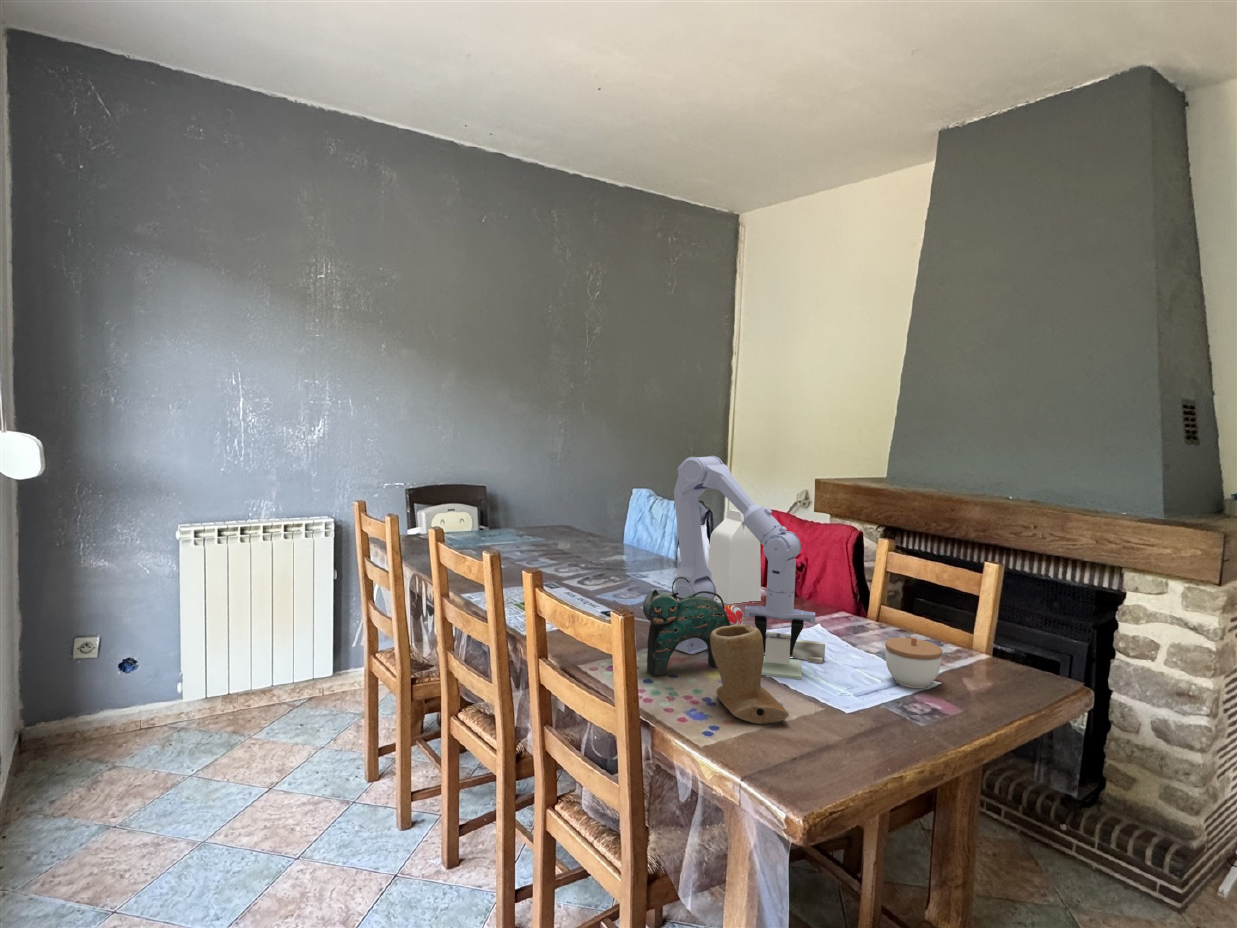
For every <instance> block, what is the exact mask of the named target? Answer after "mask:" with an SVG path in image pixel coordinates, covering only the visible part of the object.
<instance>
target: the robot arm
mask: <svg viewBox="0 0 1237 928" xmlns="http://www.w3.org/2000/svg"><path fill="white" fill-rule="evenodd" d="M677 475H678V476H677V480H676V482H675V486H674V489H673V498H674V505H675V507H674V508H675V516H676V518H675V519H676V526H677V527H676V528H677V538H678V547H679V548H678V549H679V558H680V569H679V571H678V572H677V574H676V576H675V578H674V580H675V579H676V578H678V577H685V578H687V579H688V580H689V583H688V582H687V581H686V580H685V579H678V580H676V582H675V585H674V588H673V591H674V593H679V594H678V595H676V596H678V597H684V596H690V595H692V594H695V593H697V592H700V591H710V592H714V593H716V592H717V590H716V586H715V583H714V582H713V580H712V576H711V571H710V570H709V569H708V566H707V565H706V563H705V562H706V561H705V553H704V542H703V532H702V523H701V513H700V502H699V497H700V496H701V495H703V493H704V492H705V491H706V490H707V489H713V490H718V491H720V493H722V495H723V496H724V497H725V498H726V499H727V500H728V501H729V502H730V503H732V505H733V506H734V507H735V508H736V509H737V511H740V512H741V513H742V514H743V515H744V524H745V525H746V527H747V528H748V529H749V530H750V531H751V532H752V533H753V535H754V536H755V537H756V538H757V539H758V540H759V542H760V545H762V546H763V548H762V549H763V553H764V555H765V558H766V560H767V562H768V563H767V576H766V577H767V579H766V580H767V581H766V582H767V583H766V584H767V585H766V601H765V603H766V604H765V606H755V605H754V606H749V605H745V607H744V618H750V617H751V618H754V625H755V628H758V629H759V631H760V632H761V634H762V638H763V647H764V653H765V648H766V634H767V629H768V625H767V624H768V619H772V620H781V621H791V622H790V623H791V624H790V626H791V627H790V656H792V654H793V649H794V646H795V643H796V640H798V638H799V636H800V634H801V633H802V631H803V628H804V626H805V625H804V623H809V624H816V612H813V611H807V610H803V609H802V610H801V609H795V592H796V590H795V587H796V570H797V569H796V568H797V567H796V564H797V558H796V557H798V555H799V554H800V553H801V549H802V543H801V541H800V538H799V537H798V536H797V534H796V533H794V532H793V531H787V530H788V529H787V527H786V526H783V525H781V523H780V522H779V521H778V520H777V519H776V518H775V517H774V515H772V513H773V511H772V510H771V509H770V508H769V507H767V508H766V506H764V505H757V504H755V502H754V501H753V500H752V498H751V497H750V496H749V495H748V493H747V492H746V491H745V490H744V488H743V487H742V486H741V485H740V484H739V482H738V481H737V480H736V478H735V477H734V476H733V474H732V473H731V470H730V468H729V466H727V465H726V464H725V463H724V462H723V461H722V459H721V458H720V457H718V456H715V455H708V456H699V457H696V456H690V457H687V458H686V459H684V460H683V462H682V463H681V464H679V466H678V467H677ZM697 595H698V596H704V597H708V598H710V599H712V600H714V601H715V599H714V598H715V597H716V595H713V594H708V593H700V594H697ZM677 599H678V598H677ZM674 650H676V651H680V652H681V653H682V652H683V653H685V654H688V655H695V654H698V653H700V652H703V651H707V650H708V648H707V644H706V643H705V642H704V641H703V640H701V639H699V638H691V639H688V640H685V641H682V642H680V643H679V644H678V645H677V646H676V648H675V649H674Z"/></svg>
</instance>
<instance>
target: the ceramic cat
mask: <svg viewBox="0 0 1237 928" xmlns="http://www.w3.org/2000/svg"><path fill="white" fill-rule="evenodd" d="M678 579H685V580H686V581H687V582H688V583H689V580H688V579H687V578H685V577H678V578H676V579H675V578H674V579H673V581H672V585H671V592H672V593H668V592H665V591H661V590H657V589H654V590H653V591H652V592H650V593H649V594H647V595H646V596H645V598H644V601H643V605H642V612H643V615H644V616H645V618H646V619H647V620H648V621H649V622H650V624H649V629H648V636H647V656H646V670H647V672H648V673H649V674H650V675H651V676H653V677H665V676H666V675H667V671H668V666H669V665H668V664H669V661H670V659H671V656H672V655H673V652H674V651H675V650H676V649H675V648H676V646H677V645H678V644H679V643H680V642H682V641H685V640H688V639H691V638H699V639H701V640H703V641H704V642H705V643H706V644H707V648H708V649H707V664H708V665H710V666H711V667H712V668H716V669H718V668H717V665H716V663H715V660H714V658H713V655H712V650H711V643H710V635H711V633H712V631H713V630H715V629H717V628H720V627H723V626H730V622H729V620H728V617H727V614H726V612H725V610H724V608H725V607H724V606H725V604H724V603H723V600H722V598H721V597H720V596H719V595H718V594H717V593H714V592H710V591H700V592H697V593H695V594H692V595H690V596H684V597H678V596H676V595H678V594H679V593H674V586H675V585H674V584H676V580H678ZM700 593H708V594H713V595H716V596H717V597H718V598H719V599H720V600H721V602H718V601H717V600H715V599H714V600H712V599H710V598H708V597H704V596H698V595H697V594H700ZM677 598H678V599H677ZM720 603H721V604H720Z"/></svg>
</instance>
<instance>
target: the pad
mask: <svg viewBox="0 0 1237 928" xmlns="http://www.w3.org/2000/svg"><path fill="white" fill-rule="evenodd" d="M761 676H768V677H775V678H776V677H777V678H783V679H784V678H785V679H793V680H802V678H803V677H802V660H799V659H789V664H780V663H771V662H765V656H764V661H763V667H762V672H761Z"/></svg>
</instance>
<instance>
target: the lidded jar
mask: <svg viewBox="0 0 1237 928" xmlns="http://www.w3.org/2000/svg"><path fill="white" fill-rule="evenodd" d="M942 656H943V649H942V648H941V647H940V646H939V645H937V644H935V643H933V642H930V641H928V640H923V639H918V637H915V636H911V637H893V638H889V639H887V640H886V641H885V662H886V668H887V671H888V672H889V673H890V675H891V676H892V678H893V679H896V681H897V682H898V683H899V684H898V683H897V682H896V681H895V682H896V683H897V684H898V685H900V686H903V687H906V688H911V689H925V688H927V687H928V685H930V684H931V683H932V682H934V681H935V680H936V678H937V677H938V675H939V672H940V670H941V665H942Z"/></svg>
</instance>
